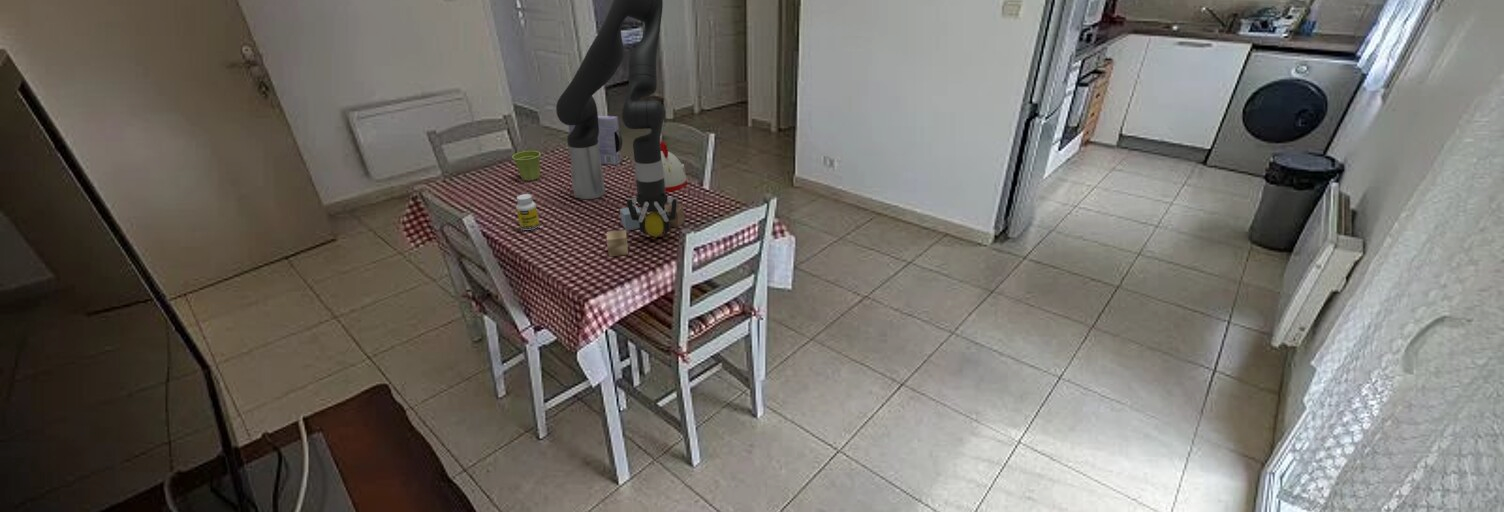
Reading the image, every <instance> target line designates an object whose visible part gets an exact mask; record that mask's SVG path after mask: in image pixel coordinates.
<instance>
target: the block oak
mask: <svg viewBox="0 0 1504 512" xmlns="http://www.w3.org/2000/svg"><path fill="white" fill-rule="evenodd" d="M627 235H628V234H627V231H626V230H625V229H623V230H612V231H611V230H610V231H607V232H606V245H607V246H606V247H607V250H608V251H607V253H608V257H616V256H617V257H618V256H626V255H629V243H628V236H627Z"/></svg>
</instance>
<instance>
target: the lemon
mask: <svg viewBox="0 0 1504 512" xmlns="http://www.w3.org/2000/svg"><path fill="white" fill-rule="evenodd" d="M644 219H645V229H646V234H648V235H649V236H651V237H654V238H658V237H659V236H661V235H662V234H663V233H664V232H665V231H664V219H663V217H662V216H661V215H660V213H659V212H654V211H652V212H648V213H647V215H645V217H644Z"/></svg>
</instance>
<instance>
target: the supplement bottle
mask: <svg viewBox="0 0 1504 512" xmlns="http://www.w3.org/2000/svg"><path fill="white" fill-rule="evenodd" d="M516 200H517V204H516V207H515V208H516V212H517V213H516V214H517V217H518V223H519V227H520V229H521V230H522V229H523V230H522V231H524V230H531V229H535V228H537V227H538V228H540V226H541V225H540V220H539V215H538V209H537V204H536V202H535V201H533V197H532V194H530V193H529V194H528V193H523V194H520V195H517V196H516ZM539 225H540V226H539ZM538 228H537V229H538ZM535 230H536V229H535ZM531 231H532V230H531Z"/></svg>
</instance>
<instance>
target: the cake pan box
mask: <svg viewBox="0 0 1504 512" xmlns="http://www.w3.org/2000/svg"><path fill="white" fill-rule="evenodd" d="M598 125H599V135H598V145H599V152H600V159H601V165H611V166H618V165H619V164H621V163H622V162H623V161H622V152H621V149H622V147H623V137H622V134H621V131H620V127H619V118H618V116H612V115H611V116H610V115H598ZM574 127H575V125H568V132H569V134H570V133H571V132H572V130H573V129H574Z"/></svg>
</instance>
